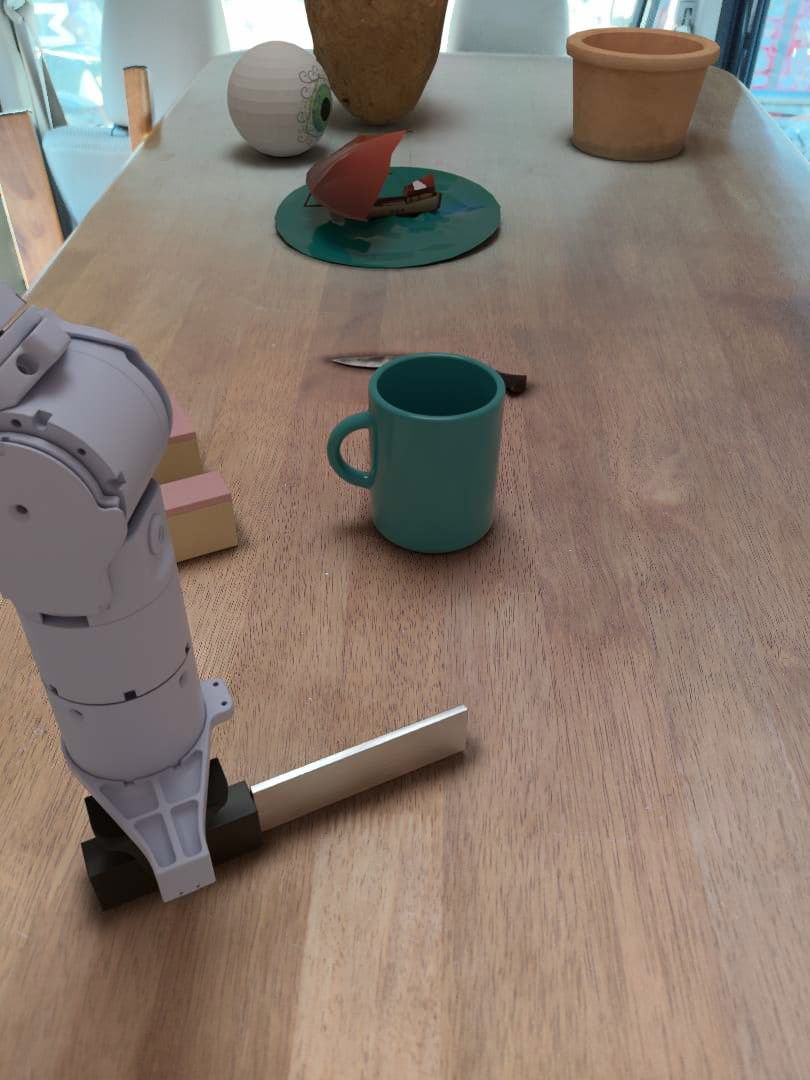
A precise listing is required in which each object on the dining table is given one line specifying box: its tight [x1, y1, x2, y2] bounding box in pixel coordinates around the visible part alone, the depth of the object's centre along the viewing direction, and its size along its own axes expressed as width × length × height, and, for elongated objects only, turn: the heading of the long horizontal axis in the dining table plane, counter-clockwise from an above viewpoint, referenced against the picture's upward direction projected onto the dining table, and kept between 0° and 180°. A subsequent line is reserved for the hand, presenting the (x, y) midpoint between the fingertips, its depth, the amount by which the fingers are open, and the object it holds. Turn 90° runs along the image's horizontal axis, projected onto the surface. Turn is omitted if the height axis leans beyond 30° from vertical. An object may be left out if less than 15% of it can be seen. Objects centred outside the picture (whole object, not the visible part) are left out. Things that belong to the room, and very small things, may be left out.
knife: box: [331, 355, 528, 394], centre depth 83 cm, size 18×1×5 cm
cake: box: [151, 394, 203, 485], centre depth 69 cm, size 9×6×5 cm, turn 116°
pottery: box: [565, 26, 721, 162], centre depth 135 cm, size 22×22×14 cm
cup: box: [326, 351, 507, 554], centre depth 63 cm, size 9×12×11 cm
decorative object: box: [226, 40, 333, 158], centre depth 129 cm, size 15×15×15 cm
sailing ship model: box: [274, 129, 502, 269], centre depth 109 cm, size 28×28×11 cm
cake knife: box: [80, 703, 469, 913], centre depth 45 cm, size 20×2×3 cm, turn 116°
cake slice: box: [160, 469, 239, 564], centre depth 62 cm, size 9×3×5 cm, turn 116°
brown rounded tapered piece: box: [303, 0, 449, 126], centre depth 139 cm, size 22×22×25 cm
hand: (170, 845), depth 43 cm, fingers closed on cake knife, 2 cm apart
